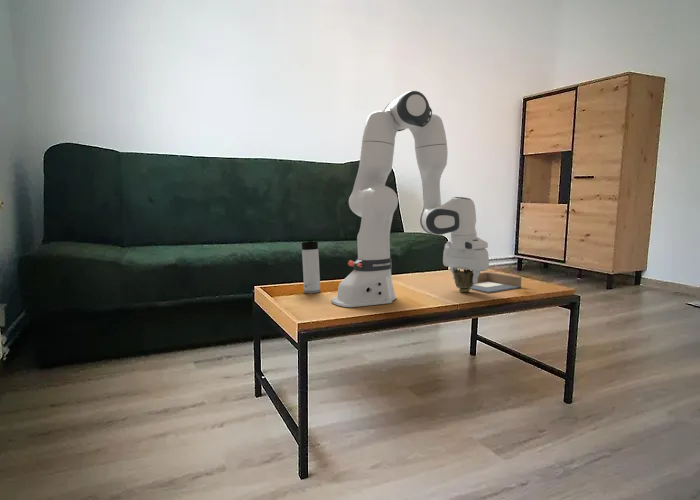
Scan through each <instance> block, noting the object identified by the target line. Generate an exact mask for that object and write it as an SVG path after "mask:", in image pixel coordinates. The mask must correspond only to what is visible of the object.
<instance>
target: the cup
mask: <svg viewBox="0 0 700 500" xmlns="http://www.w3.org/2000/svg"><path fill="white" fill-rule="evenodd" d="M460 269H461V268H457V269H456V271H455V270H454V278H455V279H454V283H455V286H457V288H458V289H459V292H460V293H461V292H463V293H462V294H467V292H468V293H470V291H471V290H470V289H469V288H470V287H472V285H473V283H472V282H471V278H473V275H474V273H473V270H467V269H463V270H460Z"/></svg>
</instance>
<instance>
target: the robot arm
mask: <svg viewBox="0 0 700 500" xmlns="http://www.w3.org/2000/svg"><path fill="white" fill-rule="evenodd" d="M364 125H365V126H364V129H363V135H362V138H361V139H362V140H361V147H360V148H361V151H360V156H359V166H358V171H357V174H356V178H355V180H354V184H353V189H352V192H351V194H350V196H349V198H348V206H349V209H350V210H351V211H352V213H353V214H355V215H357V216H358V217H360V218H361V221H360V227H359V232H358V233H357V237H356V241H357V242H356V243H357V258H356V260H355V261H354V260H351V259H350V260H348V261H347V265H348V266H349V267H352V268H353V270H352V271H351V272H349V274H348V275H347V276H346V277H345V278H343V280H342V281H340V282H339V284H338V287H337V294H336V295H337V296H333V297H331V301H330V302H331V303H332V304H334V305H336V306H339V307H344V308H355V307H367V306H374V305H385V304H392V303H393V301H395V300H396V299H397V295H396V293H395V289H394V288H395V287H394V284H393V278H392V277H393V276H392V270H393V266H392V257H391V246H390V245H391V243H390V242H391V241H390V237H391V229H392V228H391V227H392V222H393V219H394V218H393V217H394V213H395V211H396V210H397V208H398V205H399V199H398V196H397V193H396V192H395V190H394V189H392V188H391V187H389V186H387V185H386V182H387V180H388V177H389V176H390V173H391V172H392V169H393V161H394V154H395V142H396V137H397V136H396V135H397V132H402V131H405V130H408V129H409V131H410V132H411V134H412V137H413V140H414V151H415V159H416V163H417V166H418V167H417V168H418V171H419V174H420V178H421V184H422V185H421V186H422V196H423V197H422V198H423V209H422V212H421V215H420V218H419V222H420V227H421V229H422V230H423V231H424V232H425V233H427V234H429V235H436V236H441V235H442V236H443V235H445V234H448V233H450V241H447V242H446V243H445V244H444V249H443V253H442V255H443V256H442V264H443V266H444V267H449V268H450V272H451V273H452V280H455V278H454V270H455V271H456V269H461V270H464V269H466V270H473V273H474V275H473V278H471V282H472V283H477V282H478V277H479V274H480V273H481V272H487V271H488V269H489V268H490V264H489V263H490V260H489V252H488V249H487V248H488V247H489V243H488V242H487V241H485V240H484V239H481V238H480V237H478V235H477V234H478V233H477V230H476V223H477V213H476V212H477V211H476V205H475V202H474V200H472V199H471V198H468V197H462V196H460V197H459V196H454V197H451V199H449V200H448V201H447V202H445V203H443V204H442V200H441V199H442V198H441V186H440V185H441V178H442V174H443V172H444V170H445V168H446V167H447V165H448V154H449V153H448V150H449V149H448V142H447V141H448V140H447V135H446V130H445V127H444V123H443V120H442V118H441V117H440V116H439V115H437V114H434V113H433V109H432V108H431V106H430V103H429V101H428V99H427V97H426V96H425V95H424V94H423V93H421V92H420V91H417V90H409V91H406V92H404V93H402V94H401V95H399V96H396V97H395V98H394V99H393V100H392V101H391V102H389V103H388V104H387V106H386V107H385V108H384V109H383V110H376V111H372V112H371V113H369V115H368V116H367V118H366V121H365V124H364Z"/></svg>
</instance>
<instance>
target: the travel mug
mask: <svg viewBox="0 0 700 500" xmlns="http://www.w3.org/2000/svg"><path fill="white" fill-rule="evenodd" d="M318 243H319V242H318V241H314V240H308V241H303V242H301V255H302V257H301V258H302V259H301V260H302V275H303V277H302V278H303V292H304V294H307V295H310V294H319V293H320V292H321V277H320V276H321V275H320V257H319V256H320V255H319V244H318Z"/></svg>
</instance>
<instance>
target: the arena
mask: <svg viewBox="0 0 700 500" xmlns="http://www.w3.org/2000/svg"><path fill="white" fill-rule="evenodd" d="M469 289H472V290H471V291H475V290H476V292H481V293H484V292H485V294H492V293H498V292H505V291H510V290H511V291H512V290H517V289H522V276H517V275H511V274H505V273H504V274H503V273H497V272H491V271H482V272H480V274H479V277H478V282H477V283H473V285H472V287H470V288H469Z"/></svg>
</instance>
